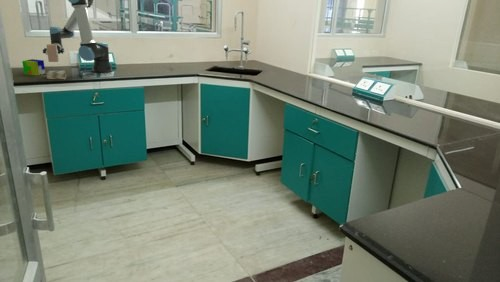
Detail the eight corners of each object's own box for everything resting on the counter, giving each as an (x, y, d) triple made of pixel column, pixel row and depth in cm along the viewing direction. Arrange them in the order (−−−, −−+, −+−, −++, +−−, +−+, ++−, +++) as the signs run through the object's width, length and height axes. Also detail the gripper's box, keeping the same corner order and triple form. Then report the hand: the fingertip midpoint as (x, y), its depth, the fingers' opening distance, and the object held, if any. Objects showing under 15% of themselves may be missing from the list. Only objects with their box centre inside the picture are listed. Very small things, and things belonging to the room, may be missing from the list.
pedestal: (66, 76, 286) (65, 70, 284) (65, 79, 276) (64, 73, 274) (48, 76, 282) (48, 70, 280) (47, 79, 271) (46, 73, 270)
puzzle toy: (45, 73, 291) (43, 60, 288) (35, 75, 282) (34, 62, 278) (33, 72, 293) (32, 59, 289) (24, 74, 284) (22, 61, 280)
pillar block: (58, 60, 283) (56, 44, 279) (57, 61, 278) (55, 45, 273) (49, 60, 281) (47, 44, 277) (48, 61, 276) (46, 45, 271)
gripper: (69, 53, 297) (66, 58, 277) (42, 53, 291) (37, 58, 271) (68, 44, 294) (65, 48, 274) (41, 43, 288) (36, 47, 268)
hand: (51, 53), depth 272 cm, fingers closed on pillar block, 6 cm apart
